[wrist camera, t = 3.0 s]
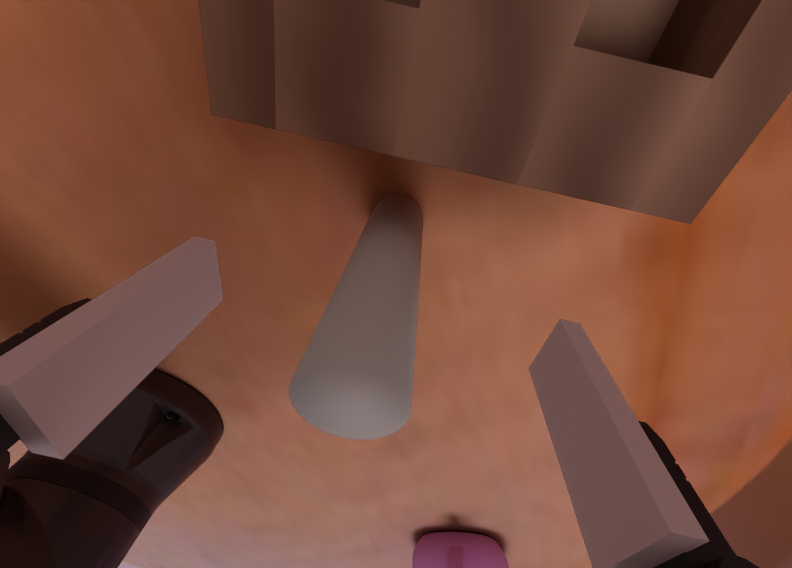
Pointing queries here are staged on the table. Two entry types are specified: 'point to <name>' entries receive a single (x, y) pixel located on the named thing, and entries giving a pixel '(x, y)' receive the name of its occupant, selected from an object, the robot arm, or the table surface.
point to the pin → (367, 332)
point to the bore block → (516, 86)
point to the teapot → (458, 551)
